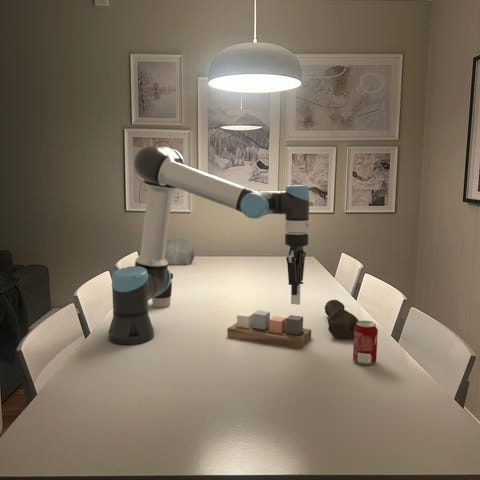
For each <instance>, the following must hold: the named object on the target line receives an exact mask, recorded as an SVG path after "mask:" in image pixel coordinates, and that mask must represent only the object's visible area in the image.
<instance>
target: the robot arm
mask: <svg viewBox="0 0 480 480" xmlns="http://www.w3.org/2000/svg"><path fill="white" fill-rule="evenodd" d="M135 154H136V155H135V156H134V160H133V168H134V170H135V172H136V175H138V177H140V178H141V179H142V180H144V182H143V185H144V186H145V187H146V188H147V195H146V204H145V213H144V222H143V228H142V229H143V230H142V240H141V246H140V255H139V256H138V257H136V258H135V261H134V262H135V263H134V265H133V266H130V265H129V266H126V267H121V268H119V269H117V270H115V271H114V272H113V274H112V277H111V278H112V279H111V288H112V289H111V291H112V292H111V293H112V318H111V319H112V320H111V323H110V326H109V330H108V333H107V334H108V340H109V342H111V343H113V344H117V345H124V346H126V345H139V344H143V343H147V342H149V341H151V340H152V339H153V338H154V337H155V329H154V327H153V324H152V321H151V318H150V315H149V300H152V298H154V297H156V296H158V295H160V294H162V293H163V292H164V291H165V290H166V289H167V288H168V286H169V284H170V281H171V275H170V273H171V272H170V270H169V268H168V267H169V265H168V262H167V260H166V259H165V250H166V242H167V239H168V232H169V226H170V223H169V222H170V217H171V210H172V209H171V208H172V199H173V193H174V192H175V191H176V190H177V189H179V190H182V191H184V192H187V193H188V194H189V193H190V194H192V195H194V196H196V197H197V196H198V197H200V198H203V199H206V200H209V201H212V202H213V203H216V204H219V205H222V206H224V207H227V208H230V209H232V210H235V211H237V212H240V213H242V214H243V215H244V216H245V217H247V218H249V219H259V218H260V219H261V218H262V217H264V216H268V215H285V219H284V220H285V221H284V222H285V223H284V227H285V228H284V229H285V230H284V231H285V234H284V244H285V245H286V246H287V247H289V251H288V256H286V258H285V259H286V263H287V264H286V265H287V275H288V276H287V278H288V285H289V286H290V304H291V305H295V306H296V305H298V306H299V305H300V304H301V285H303V284H304V281H303V280H304V272H305V261H306V260H305V259H306V255H307V252H306V251H304V247H307V246H308V245H309V233H308V232H309V227H310V226H311V223H309V221H310V220H309V219H310V202H311V201H310V189H309V187H308V185H305V184H304V185H303V184H288V185H286V187H285V190H278V191H277V190H253V189H251V188H247V187H245V186H244V185H243V186H242V185H240V184H237V183H233V182H231V181H228V180H226V179H224V178H221V177H218V176H216V175H212V174H209V173H207V172H204V171H201V170H198V169H197V168H193V167H190V166H188V165H186V163H185V159H184V157H183V156H182V154H181V153H180V152H179V151H178V150H177V149H174V148H172V147H168V146H156V145H147V146H144V147H142V148H140V150H138V151H137V152H136V153H135ZM171 282H172V281H171Z"/></svg>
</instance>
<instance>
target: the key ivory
mask: <svg viewBox="0 0 480 480" xmlns="http://www.w3.org/2000/svg"><path fill="white" fill-rule="evenodd" d="M236 323H237V327H244V328H250V327H252V326H253V312H247V311H241V312H240V313H238V314H236Z"/></svg>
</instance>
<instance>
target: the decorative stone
mask: <svg viewBox="0 0 480 480" xmlns="http://www.w3.org/2000/svg"><path fill="white" fill-rule="evenodd" d="M165 259H166V260H167V262H168V266H189V265H190V264H192V263H193V262H194V259H195V246H194V243H192V242H191V241H190V240H188V239H186V238H183V237H179V236H170V237H167V242H166V250H165Z"/></svg>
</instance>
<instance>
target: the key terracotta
mask: <svg viewBox="0 0 480 480" xmlns="http://www.w3.org/2000/svg"><path fill="white" fill-rule="evenodd" d="M286 318H287V317H280V316H273V317H270V320H269V332H275V333H281V334H282V333H283V332H285V331H286Z"/></svg>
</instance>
